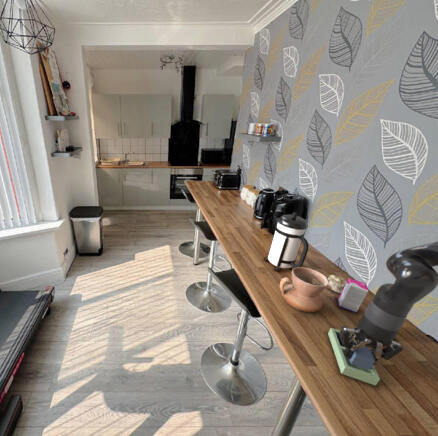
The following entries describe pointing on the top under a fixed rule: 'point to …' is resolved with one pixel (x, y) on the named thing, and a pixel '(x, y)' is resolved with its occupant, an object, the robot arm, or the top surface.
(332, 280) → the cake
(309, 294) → the ceramic jug
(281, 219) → the coffee press
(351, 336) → the dark grey block
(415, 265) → the robot arm
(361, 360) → the blue block
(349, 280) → the supplement box
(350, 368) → the frame
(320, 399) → the top surface
